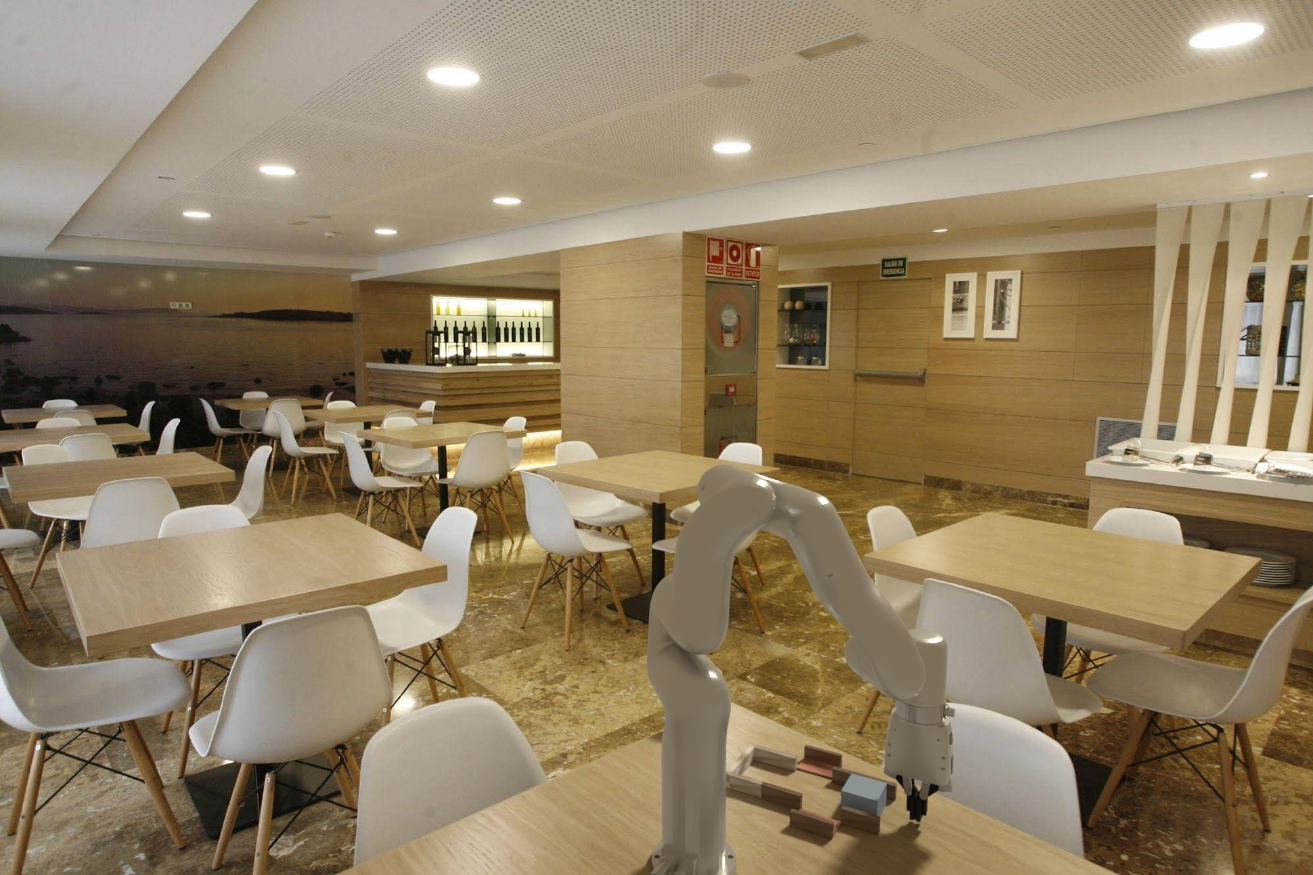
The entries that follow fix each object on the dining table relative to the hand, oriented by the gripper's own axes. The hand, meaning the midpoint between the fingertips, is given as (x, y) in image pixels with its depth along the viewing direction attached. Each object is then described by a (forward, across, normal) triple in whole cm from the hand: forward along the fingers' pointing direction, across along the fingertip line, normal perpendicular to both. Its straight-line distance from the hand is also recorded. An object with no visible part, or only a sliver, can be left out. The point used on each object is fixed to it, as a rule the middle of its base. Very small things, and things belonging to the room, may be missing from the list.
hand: (916, 816), depth 123 cm
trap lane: (+1, +18, 0) cm, 18 cm away
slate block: (+2, +9, 0) cm, 9 cm away
